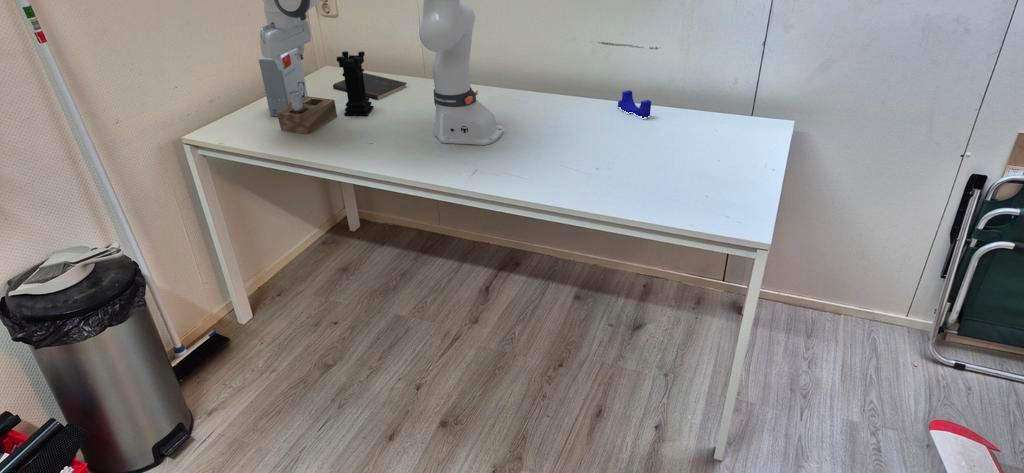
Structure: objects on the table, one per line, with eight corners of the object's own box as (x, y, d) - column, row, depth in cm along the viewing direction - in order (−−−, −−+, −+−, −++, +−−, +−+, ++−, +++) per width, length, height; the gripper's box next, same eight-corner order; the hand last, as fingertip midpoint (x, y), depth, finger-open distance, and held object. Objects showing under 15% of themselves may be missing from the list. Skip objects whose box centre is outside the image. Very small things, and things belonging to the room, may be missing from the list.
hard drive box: (290, 117, 223) (278, 60, 213) (269, 116, 224) (256, 59, 214) (309, 101, 236) (299, 46, 226) (289, 100, 237) (278, 45, 227)
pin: (309, 120, 215) (303, 91, 210) (302, 124, 213) (296, 95, 207) (300, 119, 217) (294, 90, 211) (293, 123, 214) (287, 94, 208)
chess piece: (373, 107, 230) (365, 51, 219) (367, 116, 223) (358, 58, 212) (351, 107, 230) (342, 50, 220) (344, 116, 224) (334, 58, 213)
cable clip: (617, 109, 225) (618, 92, 222) (628, 106, 227) (629, 90, 223) (638, 121, 216) (640, 103, 213) (649, 118, 218) (651, 101, 214)
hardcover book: (363, 78, 258) (362, 72, 257) (407, 88, 247) (406, 82, 246) (333, 90, 247) (332, 84, 246) (377, 101, 236) (377, 95, 235)
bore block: (337, 116, 223) (334, 99, 220) (309, 134, 211) (305, 117, 208) (310, 112, 227) (306, 96, 224) (281, 130, 214) (277, 113, 211)
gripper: (268, 28, 188) (278, 75, 195) (310, 11, 204) (318, 55, 211) (250, 27, 190) (261, 73, 197) (293, 10, 206) (302, 54, 213)
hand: (291, 64), depth 204 cm, fingers open, 8 cm apart
